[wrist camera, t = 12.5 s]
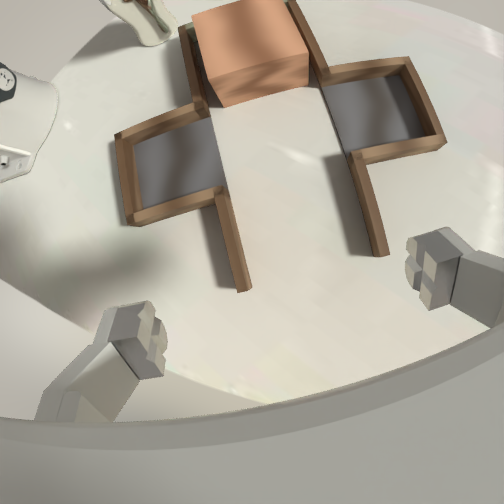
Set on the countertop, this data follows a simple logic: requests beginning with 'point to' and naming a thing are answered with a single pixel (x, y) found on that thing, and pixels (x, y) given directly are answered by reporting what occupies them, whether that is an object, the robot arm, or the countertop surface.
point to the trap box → (209, 161)
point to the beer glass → (145, 19)
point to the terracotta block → (251, 50)
